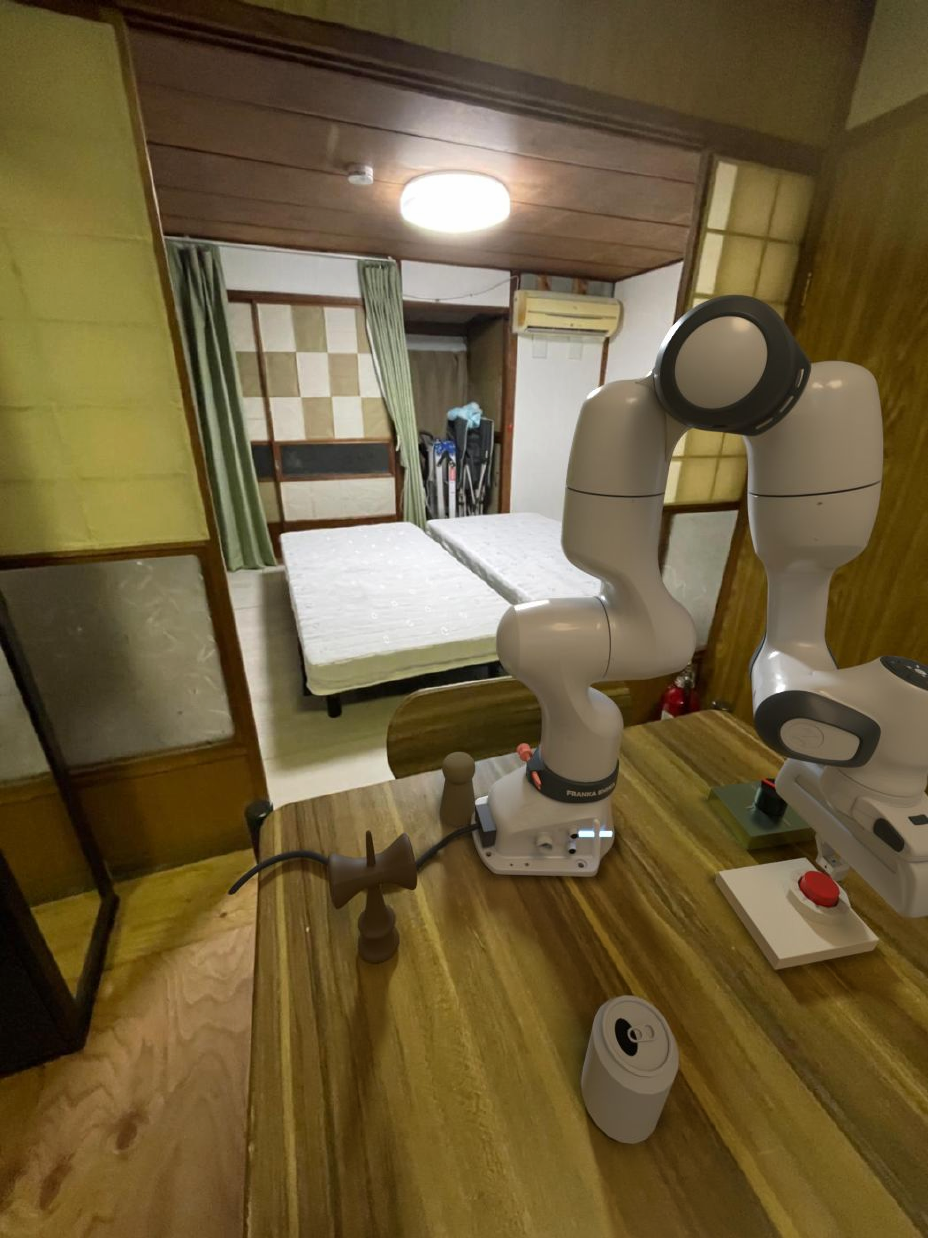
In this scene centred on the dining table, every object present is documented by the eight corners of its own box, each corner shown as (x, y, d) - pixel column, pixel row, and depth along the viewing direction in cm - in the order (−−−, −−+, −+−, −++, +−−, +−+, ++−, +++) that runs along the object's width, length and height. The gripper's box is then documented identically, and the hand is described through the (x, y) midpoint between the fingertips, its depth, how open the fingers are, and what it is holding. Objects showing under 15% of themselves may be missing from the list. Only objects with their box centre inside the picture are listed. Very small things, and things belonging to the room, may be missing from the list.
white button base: (774, 970, 62) (784, 950, 60) (714, 882, 72) (721, 862, 71) (873, 950, 64) (885, 930, 62) (801, 867, 75) (809, 848, 73)
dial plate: (746, 850, 77) (751, 835, 76) (707, 800, 86) (711, 786, 85) (815, 839, 79) (822, 825, 78) (770, 792, 88) (775, 778, 87)
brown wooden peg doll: (473, 828, 80) (475, 775, 75) (435, 823, 81) (435, 770, 76) (479, 800, 86) (481, 748, 81) (443, 795, 87) (443, 743, 82)
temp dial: (790, 807, 81) (797, 789, 79) (777, 820, 79) (784, 802, 77) (762, 790, 84) (768, 772, 83) (749, 802, 82) (755, 784, 80)
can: (571, 1055, 54) (584, 989, 49) (639, 1048, 55) (660, 983, 49) (593, 1152, 47) (611, 1089, 42) (671, 1144, 48) (699, 1080, 43)
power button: (815, 909, 65) (820, 900, 64) (792, 881, 69) (796, 872, 68) (843, 904, 66) (847, 895, 65) (818, 877, 69) (822, 868, 68)
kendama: (422, 956, 63) (418, 841, 54) (342, 982, 60) (324, 865, 51) (411, 911, 68) (406, 800, 59) (337, 934, 65) (320, 820, 56)
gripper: (778, 735, 68) (752, 812, 74) (930, 865, 50) (879, 954, 56) (819, 730, 69) (790, 807, 75) (982, 856, 51) (927, 944, 57)
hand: (829, 871), depth 65 cm, fingers closed
